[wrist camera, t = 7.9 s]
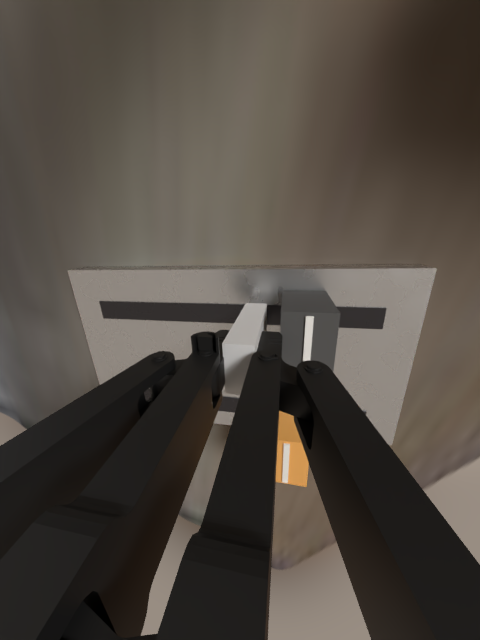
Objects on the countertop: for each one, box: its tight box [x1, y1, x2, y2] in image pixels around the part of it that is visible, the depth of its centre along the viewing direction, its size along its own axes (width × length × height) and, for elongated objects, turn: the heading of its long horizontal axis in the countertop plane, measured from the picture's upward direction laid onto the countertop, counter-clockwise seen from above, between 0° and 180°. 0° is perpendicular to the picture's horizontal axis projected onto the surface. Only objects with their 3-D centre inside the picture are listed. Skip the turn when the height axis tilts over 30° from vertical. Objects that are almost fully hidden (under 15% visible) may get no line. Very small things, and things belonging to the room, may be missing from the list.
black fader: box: [280, 290, 340, 371], centre depth 15 cm, size 4×3×5 cm
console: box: [67, 264, 437, 445], centre depth 21 cm, size 15×28×2 cm, turn 91°
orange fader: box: [276, 411, 309, 487], centre depth 18 cm, size 4×3×5 cm
